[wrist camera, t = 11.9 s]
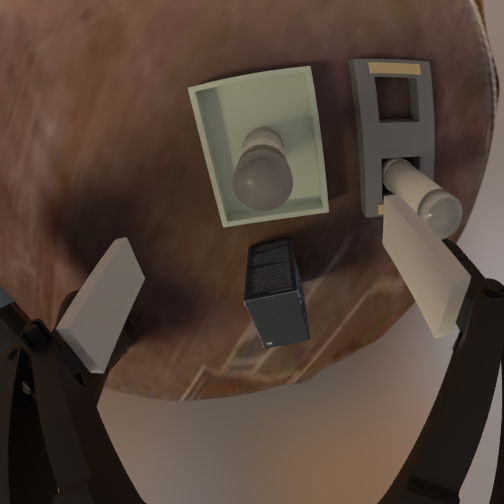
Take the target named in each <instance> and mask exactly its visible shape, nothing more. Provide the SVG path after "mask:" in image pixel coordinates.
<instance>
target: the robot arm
mask: <svg viewBox="0 0 504 504" xmlns="http://www.w3.org/2000/svg"><path fill="white" fill-rule="evenodd" d="M383 246H384V247H385V249H386V251H387V252H388V254H389V256H390V257H391V259H392V261H393V262H394V264H395V266H396V267H397V269H398V271H399V272H400V274H401V276H402V277H403V279H404V281H405V283H406V284H407V286H408V288H409V290H410V292H411V293H412V295H413V297H414V299H415V301H416V303H417V304H418V306H419V308H420V310H421V312H422V314H423V316H424V318H425V319H426V322H427V324H428V326H429V328H430V330H431V332H432V334H433V336H434V338H435V339H437V338H441V337H444V336H448V335H451V334H452V332H453V329H454V327H455V324H457V326H458V328H459V329H460V332H459V335H458V337H457V339H456V342H455V344H454V346H453V354H452V357H451V360H450V363H449V366H448V369H447V371H446V374H445V377H444V380H443V382H442V385H441V388H440V390H439V393H438V395H437V398H436V400H435V402H434V405H433V407H432V410H431V412H430V414H429V416H428V418H427V421H426V423H425V425H424V427H423V429H422V431H421V433H420V435H419V437H418V439H417V441H416V443H415V445H414V447H413V449H412V451H411V452H410V454H409V456H408V458H407V460H406V461H405V463H404V465H403V467H402V468H401V470H400V472H399V473H398V475H397V477H396V478H395V480H394V481H393V483H392V485H391V486H390V488H389V489H388V491H387V492H386V494H385V495H384V496H383V498H382V499H381V500H380V501H379V502H378V504H459V502H460V499H459V496H458V494H459V490H460V488H461V486H462V483H463V481H464V479H465V477H466V475H467V472H468V470H469V468H470V465H471V463H472V460H473V458H474V455H475V453H476V450H477V447H478V445H479V442H480V439H481V436H482V433H483V430H484V427H485V424H486V420H487V417H488V414H489V410H490V406H491V402H492V399H493V395H494V391H495V387H496V382H497V377H498V372H499V367H500V362H501V367H502V421H501V422H502V423H501V436H500V446H499V455H498V462H497V469H496V475H495V480H494V485H493V490H492V495H491V499H490V503H489V504H504V286H503V285H502V284H501V283H500V282H498V281H496V280H494V279H489V278H487V279H485V278H484V276H483V275H482V274H481V273H480V271H479V270H478V269H477V268H476V267H475V265H474V264H473V263H472V262H471V261H470V260H469V259H468V257H467V256H466V255H465V254H464V253H463V252H462V250H461V249H460V248H459V247H458V246H457V244H455V243H453V242H452V241H450V240H448V239H443V240H441V239H440V238H439V237H438V236H437V235H436V234H435V233H434V232H433V230H432V229H431V228H430V227H429V226H428V225H427V224H426V223H425V222H424V221H423V220H422V219H421V217H420V216H419V215H418V214H417V213H416V212H415V211H414V210H413V209H412V208H411V207H410V206H409V205H408V204H407V203H406V202H405V201H404V200H403V199H402V198H401V197H400V196H399V195H398V194H396V195H387V196H384V221H383ZM144 280H145V277H144V275H143V273H142V270H141V268H140V266H139V264H138V262H137V259H136V257H135V255H134V253H133V250H132V248H131V246H130V243H129V241H128V239H127V237H125V238H120V239H115V241H114V242H113V243H112V245H111V246H110V247H109V249H108V250H107V251H106V253H105V254H104V256H103V257H102V258H101V260H100V261H99V263H98V264H97V265H96V267H95V268H94V270H93V271H92V273H91V274H90V276H89V277H88V278H87V280H86V281H85V283H84V284H83V286H82V287H81V289H80V290H79V292H74V293H71V294H69V295H67V296H66V297H65V299H64V300H63V302H62V303H61V305H60V307H59V310H58V316H57V320H56V324H55V327H54V329H53V331H52V332H50V331H49V330H48V328H47V327H46V326H45V324H44V323H43V321H42V320H41V319H35V320H31V319H30V318H29V317H28V316H27V315H26V313H25V312H24V311H23V310H22V309H21V308H20V307H19V305H18V304H17V303H16V302H15V301H16V300H15V299H14V298H12V297H11V296H10V295H9V294H8V293H7V292H6V291H5V290H4V289H3V287H2V286H1V285H0V504H146V503H145V502H144V501H143V500H142V498H141V497H140V496H139V494H138V492H137V490H136V489H135V487H134V485H133V483H132V482H131V480H130V478H129V476H128V474H127V473H126V471H125V469H124V467H123V465H122V463H121V461H120V459H119V457H118V455H117V453H116V451H115V449H114V447H113V445H112V442H111V440H110V438H109V436H108V434H107V431H106V429H105V427H104V424H103V422H102V420H101V417H100V415H99V412H98V410H97V404H98V401H99V398H100V396H101V393H102V390H103V387H104V385H105V382H106V379H107V377H108V374H109V372H110V370H111V369H112V368H113V367H114V365H115V364H116V363H117V362H118V361H119V360H120V358H121V357H122V356H123V355H125V354H126V353H127V351H128V350H129V347H130V345H131V342H132V340H133V331H132V328H131V326H130V324H129V322H128V321H127V317H128V315H129V312H130V310H131V308H132V306H133V304H134V301H135V299H136V297H137V295H138V293H139V291H140V288H141V286H142V284H143V282H144ZM57 486H58V487H57ZM58 489H59V494H58Z"/></svg>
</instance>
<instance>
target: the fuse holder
mask: <svg viewBox="0 0 504 504" xmlns="http://www.w3.org/2000/svg"><path fill="white" fill-rule="evenodd" d="M348 66H349V73H350V79H351V86H352V94H353V101H354V110H355V119H356V129H357V140H358V153H359V169H360V190H361V211H362V212H363V214H364V215H365V217H366V218H370V217H378V216H384V196H387V195H394V194H393V193H392V192H382V161H381V159H386V158H400V157H412V166H414V167H415V168H416V169H418V170H419V171H420V172H422V173H423V174H424V175H426V176H427V177H428V178H430V179H431V180H432V181H434V156H435V130H434V104H433V90H432V79H431V70H430V62H426V61H414V60H398V59H350V60H348ZM375 77H404V78H408V86H409V96H410V109H411V119H381V120H379V113H378V103H377V93H376V85H375Z"/></svg>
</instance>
